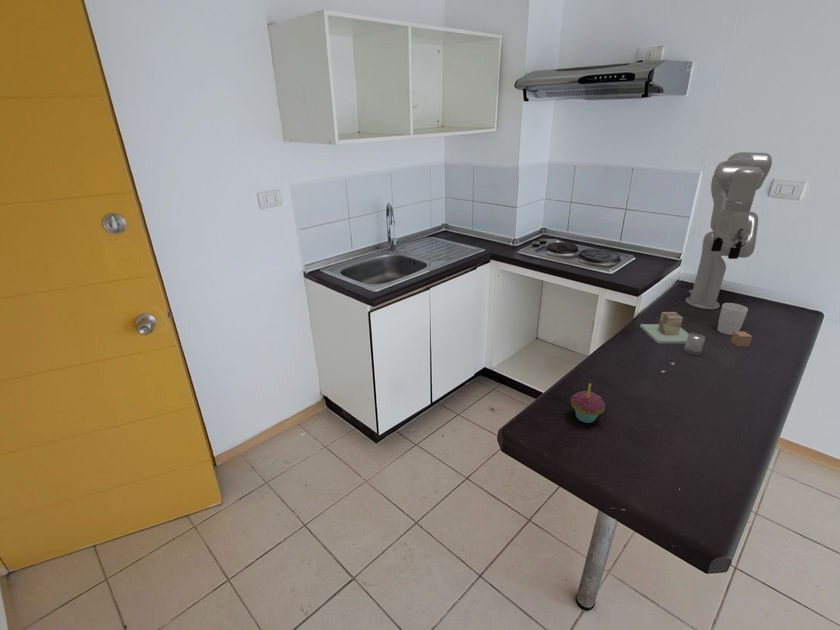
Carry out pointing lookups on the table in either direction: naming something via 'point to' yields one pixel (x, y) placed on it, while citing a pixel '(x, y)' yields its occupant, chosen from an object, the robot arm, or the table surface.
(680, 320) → the maple block
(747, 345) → the terracotta cube
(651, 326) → the sage plate
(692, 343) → the grey metal cylinder
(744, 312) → the white cup
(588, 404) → the cupcake
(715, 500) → the table surface
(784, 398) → the table surface
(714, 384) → the table surface
